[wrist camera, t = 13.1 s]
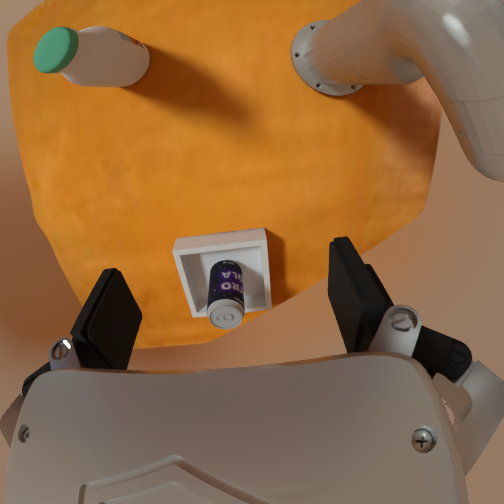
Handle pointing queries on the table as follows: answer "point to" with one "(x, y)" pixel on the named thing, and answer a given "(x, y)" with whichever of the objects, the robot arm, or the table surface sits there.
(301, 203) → the table surface
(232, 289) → the beverage can
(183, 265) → the box
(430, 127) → the table surface
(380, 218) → the table surface
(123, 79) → the milk bottle
